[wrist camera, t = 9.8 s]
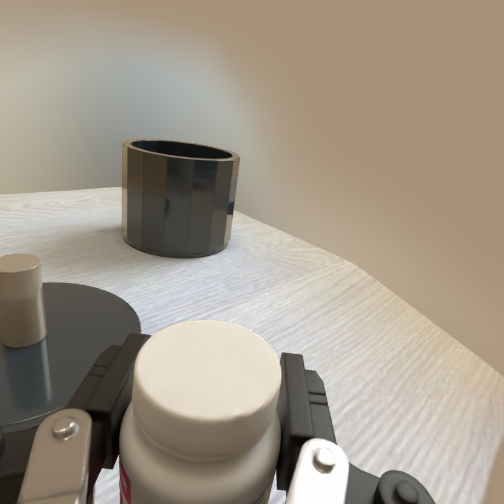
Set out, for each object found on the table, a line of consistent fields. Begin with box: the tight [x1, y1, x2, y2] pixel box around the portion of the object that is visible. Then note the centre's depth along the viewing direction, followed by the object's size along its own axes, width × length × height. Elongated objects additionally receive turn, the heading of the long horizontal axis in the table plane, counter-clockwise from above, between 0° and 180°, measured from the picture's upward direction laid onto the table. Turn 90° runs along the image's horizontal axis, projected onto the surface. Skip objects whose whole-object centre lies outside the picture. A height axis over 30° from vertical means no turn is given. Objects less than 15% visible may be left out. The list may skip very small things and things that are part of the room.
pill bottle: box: [119, 320, 282, 504], centre depth 11 cm, size 5×5×8 cm
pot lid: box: [0, 254, 141, 433], centre depth 21 cm, size 14×14×6 cm
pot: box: [122, 139, 240, 258], centre depth 42 cm, size 13×13×10 cm
